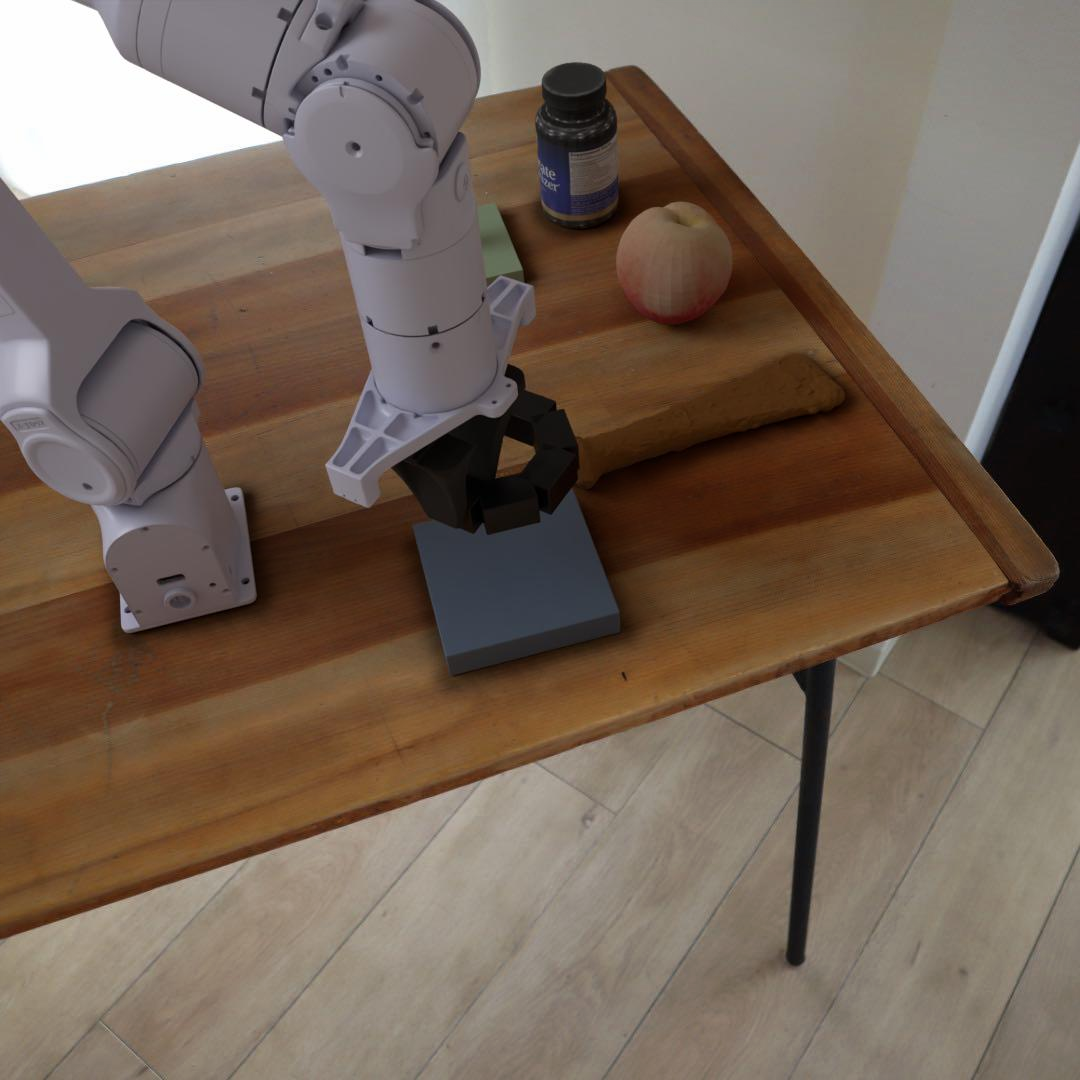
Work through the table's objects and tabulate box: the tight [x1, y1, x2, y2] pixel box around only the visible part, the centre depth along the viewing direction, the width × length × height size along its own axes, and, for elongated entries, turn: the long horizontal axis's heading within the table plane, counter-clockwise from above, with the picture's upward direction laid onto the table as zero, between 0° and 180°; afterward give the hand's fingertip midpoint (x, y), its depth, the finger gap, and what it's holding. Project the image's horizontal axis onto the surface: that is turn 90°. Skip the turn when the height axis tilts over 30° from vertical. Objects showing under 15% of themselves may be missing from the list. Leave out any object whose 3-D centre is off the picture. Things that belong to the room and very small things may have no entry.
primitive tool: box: [575, 352, 846, 490], centre depth 75 cm, size 19×6×4 cm, turn 119°
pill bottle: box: [534, 61, 620, 229], centre depth 89 cm, size 6×6×11 cm
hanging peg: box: [476, 202, 525, 287], centre depth 88 cm, size 9×9×6 cm
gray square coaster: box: [412, 487, 621, 677], centre depth 69 cm, size 10×10×2 cm
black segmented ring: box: [419, 389, 580, 535], centre depth 63 cm, size 9×9×2 cm
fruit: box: [615, 200, 734, 326], centre depth 82 cm, size 8×8×8 cm
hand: (460, 500), depth 62 cm, fingers closed on black segmented ring, 2 cm apart
